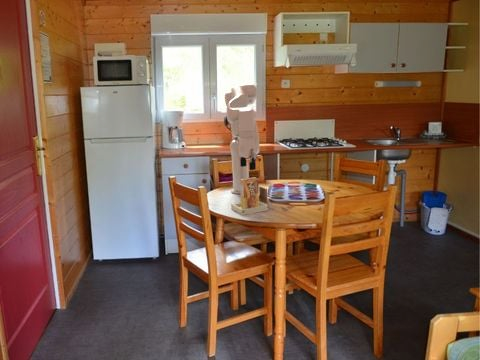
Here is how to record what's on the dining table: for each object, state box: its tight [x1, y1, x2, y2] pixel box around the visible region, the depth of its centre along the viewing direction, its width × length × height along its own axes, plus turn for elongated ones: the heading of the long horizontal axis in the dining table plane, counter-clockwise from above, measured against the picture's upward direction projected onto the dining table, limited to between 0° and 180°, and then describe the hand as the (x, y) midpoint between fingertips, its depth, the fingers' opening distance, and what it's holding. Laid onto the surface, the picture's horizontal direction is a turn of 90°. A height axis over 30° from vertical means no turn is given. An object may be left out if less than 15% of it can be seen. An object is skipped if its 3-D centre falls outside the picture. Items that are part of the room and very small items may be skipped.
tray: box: [230, 201, 270, 216], centre depth 223 cm, size 13×15×3 cm
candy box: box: [240, 176, 260, 209], centre depth 222 cm, size 9×4×15 cm, turn 118°
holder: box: [259, 186, 268, 203], centre depth 236 cm, size 7×13×7 cm, turn 117°
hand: (248, 168), depth 219 cm, fingers open, 9 cm apart
